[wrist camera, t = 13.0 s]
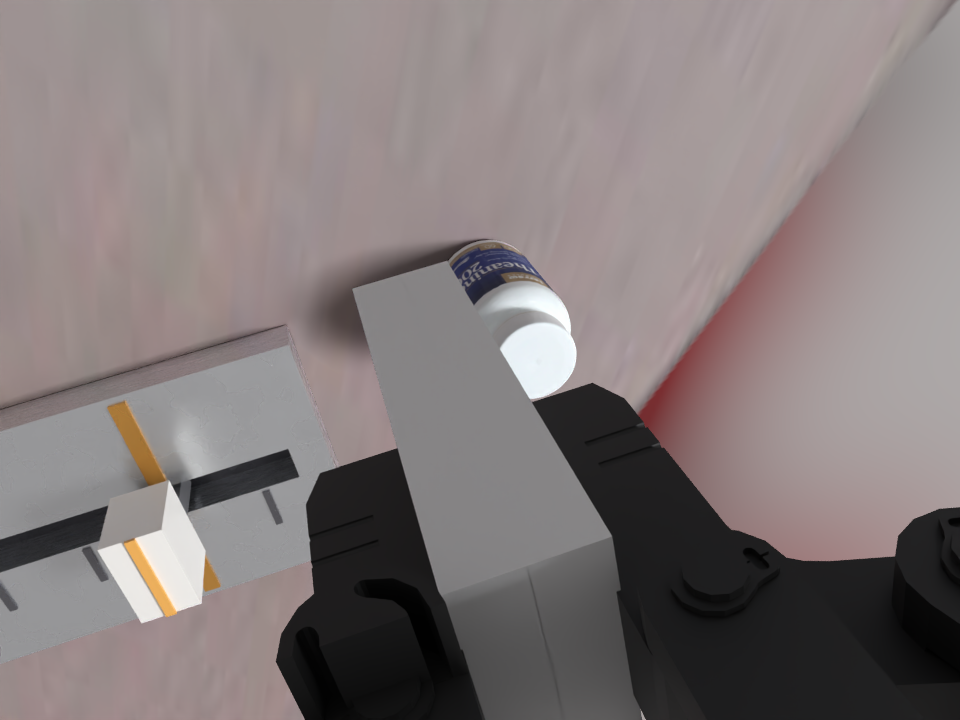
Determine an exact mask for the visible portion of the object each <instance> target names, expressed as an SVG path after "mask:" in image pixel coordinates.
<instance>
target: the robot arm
mask: <svg viewBox="0 0 960 720" xmlns="http://www.w3.org/2000/svg"><path fill="white" fill-rule="evenodd" d="M352 290H353V293H354V297H355V300H356V304H357V307H358V311H359V314H360V318H361V321H362V325H363V329H364V332H365V336H366V339H367V343H368V346H369V350H370V353H371V357H372V360H373V364H374V367H375V371H376V374H377V378H378V381H379V385H380V388H381V392H382V395H383V399H384V402H385V406H386V409H387V413H388V416H389V420H390V423H391V427H392V430H393V434H394V437H395V441H396V444H397V449H394V450H391V451H387V452H384V453H381V454H378V455H375V456H372V457H369V458H366V459H362V460H359V461H356V462H353V463H350V464H347V465H344V466H341V467H337V468H334V469H331V470H328V471H325V472H322V473H320V474H319V476H318V479H317V481H316V483H315V485H314V487H313V490H312V492H311V494H310V496H309V498H308V501H307V503H306V513H307V524H308V534H309V538H310V542H309V545H310V555H311V563H312V566H313V568H312V576H313V587H314V594H313V595H312V596H311V597H310V598H309V599H308V600H307V601H305V602H304V603H303V604H302V605H301V606H300V607H298V609H297V610H296V612H295V613H294V615H293V616H292V618H291V620H290V621H289V623H288V624H287V626H286V627H285V629H284V631H283V632H282V634H281V638H280V643H279V648H278V653H277V659H276V663H277V665H278V667H279V669H280V671H281V673H282V675H283V677H284V679H285V681H286V683H287V685H288V687H289V689H290V691H291V693H292V695H293V697H294V699H295V701H296V703H297V705H298V707H299V709H300V711H301V712H302V714H303V716H304V718H305V720H642V717H641V711H642V712H643V715H644V717H645V719H646V720H960V507H959V508H946V509H938V510H936V511H933V512H931V513H928V514H926V515H923V516H921V517H918V518H915V519H914V520H913V521H912V522H911V523H910V524H909V525H908V526H907V527H906V528H905V529H904V530H903V531H902V532H901V534H900V535H899V536H898V541H897V548H896V555H895V557H882V558H868V559H854V560H841V561H801V560H795V559H790V558H786V557H785V556H784V555H782V554H781V553H780V552H779V551H777V550H776V549H774V547H772V546H771V545H770V544H769V543H767V542H766V541H764V540H762V539H759V538H756V537H754V536H751V535H748V534H745V533H743V532H740V531H735V530H731V529H730V528H729V527H728V526H727V525H726V524H725V523H724V522H723V521H722V519H721V518H720V517H719V516H718V514H717V513H716V512H715V511H714V509H713V508H712V507H711V506H710V504H709V503H708V502H707V501H706V499H705V498H704V497H703V496H702V495H701V493H700V492H699V491H698V490H697V488H696V487H695V486H694V485H693V483H692V482H691V481H690V480H689V478H688V477H687V476H686V474H685V473H684V472H683V471H682V470H681V468H680V467H679V466H678V465H677V463H676V462H675V461H674V460H673V458H672V457H671V456H670V455H669V453H667V451H666V450H665V448H661V446H660V442H659V441H658V440H657V439H656V437H655V436H654V435H653V434H652V432H651V431H650V430H649V429H648V427H647V428H645V426H644V422H643V421H642V420H641V419H640V417H639V416H638V415H637V414H636V412H635V411H634V410H633V409H632V407H631V406H630V405H629V404H628V402H627V401H626V400H625V399H624V398H622V397H620V396H618V395H616V394H614V393H612V392H610V391H608V390H606V389H604V388H602V387H600V386H598V385H596V384H594V383H591V384H588V385H584V386H581V387H578V388H575V389H572V390H569V391H566V392H563V393H559V394H556V395H553V396H550V397H547V398H544V399H541V400H538V401H534V402H531V400H530V399H529V397H528V395H527V394H526V392H525V390H524V389H523V387H522V385H521V384H520V382H519V380H518V379H517V377H516V375H515V374H514V372H513V370H512V368H511V367H510V365H509V363H508V362H507V360H506V358H505V357H504V355H503V353H502V352H501V350H500V348H499V347H498V345H497V343H496V342H495V340H494V338H493V337H492V335H491V333H490V332H489V330H488V328H487V327H486V325H485V323H484V322H483V320H482V318H481V317H480V315H479V313H478V312H477V310H476V308H475V307H474V305H473V303H472V302H471V300H470V298H469V297H468V295H467V293H466V292H465V290H464V288H463V287H462V285H461V283H460V282H459V280H458V278H457V277H456V275H455V273H454V272H453V270H452V268H451V267H450V265H449V263H448V262H447V261H444V262H441V263H437V264H434V265H431V266H427V267H424V268H421V269H417V270H414V271H410V272H407V273H404V274H400V275H397V276H393V277H390V278H387V279H383V280H380V281H376V282H373V283H370V284H366V285H363V286H359V287H356V288H353V289H352ZM640 709H641V710H640Z"/></svg>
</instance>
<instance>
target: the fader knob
mask: <svg viewBox="0 0 960 720" xmlns="http://www.w3.org/2000/svg"><path fill="white" fill-rule="evenodd" d="M190 490H191V481H190V480H188V481H184V482H181V483H178V484H175V485H171V483H170V481H169V480H168V481H164V482H161V483H158V484H155V485H152V486H148V487H145V488H142V489H139V490H136V491H133V492H129V493H126V494H123V495H120V496H117V497H113V498H110V501H109V505H108V509H107V513H106V517H105V521H104V525H103V529H102V533H101V537H100V541H99V545H98V549H97V551H98V552H99V554H100V556H101V557H102V559H103V561H104V562H105V564H106V566H107V567H108V569H109V570H110V572H111V574H112V575H113V577H114V579H115V580H116V582H117V584H118V585H119V587H120V589H121V590H122V592H123V593H124V595H125V597H126V598H127V600H128V602H129V603H130V605H131V607H132V608H133V610H134V611H135V613H136V615H137V616H138V618H139V620H140V621H141V623H144V622H147V621H150V620H153V619H156V618H159V617H162V616H165V615H166V617H168V616H171V615H174V614H177V611H180V610H183V609H186V608H189V607H192V606H195V605H198V604H201V603H202V591H203V578H204V564H205V549H204V547H203V545H202V543H201V541H200V539H199V537H198V535H197V533H196V531H195V529H194V528H193V526H192V524H191V522H190V520H189V518H188V508H189V499H190Z"/></svg>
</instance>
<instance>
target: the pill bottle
mask: <svg viewBox="0 0 960 720" xmlns="http://www.w3.org/2000/svg"><path fill="white" fill-rule="evenodd" d="M448 263H449V265H450V267H451V268H452V270H453V272H454V273H455V275H456V277H457V278H458V280H459V282H460V283H461V285H462V287H463V288H464V290H465V292H466V293H467V295H468V297H469V298H470V300H471V302H472V303H473V305H474V307H475V308H476V310H477V312H478V313H479V315H480V317H481V318H482V320H483V322H484V323H485V325H486V327H487V328H488V330H489V332H490V333H491V335H492V337H493V338H494V340H495V342H496V343H497V345H498V347H499V348H500V350H501V352H502V353H503V355H504V357H505V358H506V360H507V362H508V363H509V365H510V367H511V368H512V370H513V372H514V374H515V375H516V377H517V379H518V380H519V382H520V384H521V385H522V387H523V389H524V390H525V392H526V394H527V395H528V397H529V399H535V398H540V397H544V396H546V395H548V394H550V393H552V392H554V391H556V390H557V389H558V388H560V387H561V386H562V385H563V384H564V383H565V382H566V381H567V379H568V378H569V376H570V375H571V373H572V371H573V369H574V366H575V362H576V347H575V344H574V341H573V339H572V337H571V336H570V332H571V327H570V319H569V315H568V312H567V310H566V308H565V306H564V304H563V303H562V301H561V299H560V298H559V297H558V296H557V295H556V293H555V292H554V291H553V290H552V289H551V288H550V287H549V285H548V284H547V283H546V282H545V280H544V279H543V278H542V277H541V276H540V275H539V273H538V272H537V271H536V270H535V269H534V267H533V266H532V265H531V264H530V262H529V261H528V260H527V259H526V258H525V256H524V255H522V253H521V252H520V251H518V250H517V249H516V248H515V247H513V246H511V245H509V244H507V243H505V242H501V241H496V240H484V241H477V242H474V243H471V244H469V245H467V246H465V247H463V248H462V249H460V250H459V251H458V252H456V253H455V254H454V255H453V256H452V257H451V258H450V259H449V261H448Z"/></svg>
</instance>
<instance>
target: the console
mask: <svg viewBox="0 0 960 720" xmlns="http://www.w3.org/2000/svg"><path fill="white" fill-rule="evenodd" d="M337 467H340V466H339V463H338V460H337V458H336V455H335V452H334V450H333V447H332V444H331V442H330V439H329V436H328V434H327V431H326V428H325V426H324V423H323V420H322V418H321V415H320V412H319V410H318V407H317V404H316V401H315V399H314V396H313V393H312V391H311V388H310V385H309V383H308V380H307V377H306V375H305V372H304V369H303V367H302V364H301V361H300V359H299V356H298V353H297V351H296V348H295V345H294V342H293V340H292V337H291V334H290V332H289V329H288V326H287V325H284V326H280V327H277V328H274V329H270V330H267V331H264V332H260V333H257V334H253V335H250V336H247V337H243V338H240V339H237V340H233V341H230V342H227V343H223V344H220V345H216V346H213V347H210V348H206V349H203V350H200V351H196V352H193V353H190V354H186V355H183V356H179V357H176V358H173V359H169V360H166V361H163V362H159V363H156V364H153V365H149V366H146V367H142V368H139V369H136V370H132V371H129V372H126V373H122V374H119V375H116V376H112V377H109V378H105V379H102V380H99V381H95V382H92V383H89V384H85V385H82V386H79V387H75V388H72V389H68V390H65V391H62V392H58V393H55V394H52V395H48V396H45V397H42V398H38V399H35V400H31V401H28V402H25V403H21V404H18V405H15V406H11V407H8V408H5V409H1V410H0V664H2V663H5V662H8V661H11V660H14V659H17V658H20V657H23V656H26V655H29V654H32V653H35V652H38V651H41V650H44V649H47V648H50V647H53V646H56V645H59V644H62V643H65V642H68V641H71V640H74V639H77V638H80V637H83V636H86V635H89V634H92V633H95V632H98V631H101V630H104V629H107V628H110V627H113V626H116V625H119V624H122V623H125V622H128V621H131V620H134V619H137V618H138V616H137V615H136V613H135V611H134V610H133V608H132V607H131V605H130V603H129V602H128V600H127V598H126V597H125V595H124V593H123V592H122V590H121V589H120V587H119V585H118V584H117V582H116V580H115V579H114V577H113V575H112V574H111V572H110V570H109V569H108V567H107V566H106V564H105V562H104V561H103V559H102V557H101V556H100V554H99V552H98V551H97V549H98V545H99V541H100V537H101V533H102V529H103V525H104V521H105V517H106V513H107V509H108V505H109V501H110V498H113V497H117V496H120V495H123V494H126V493H129V492H133V491H136V490H139V489H142V488H145V487H148V486H152V485H155V484H158V483H161V482H164V481H168V480H169V481H170V483H171V485H175V484H178V483H181V482H184V481H188V480H190V481H191V490H190V499H189V508H188V518H189V520H190V522H191V524H192V526H193V528H194V529H195V531H196V533H197V535H198V537H199V539H200V541H201V543H202V545H203V547H204V549H205V564H204V578H203V591H202V597H203V596H206V595H209V594H212V593H215V592H218V591H221V590H224V589H227V588H230V587H233V586H236V585H239V584H242V583H245V582H248V581H251V580H254V579H257V578H260V577H263V576H266V575H269V574H272V573H275V572H278V571H281V570H284V569H287V568H290V567H293V566H296V565H299V564H302V563H305V562H308V561H311V555H310V545H309V542H310V538H309V534H308V524H307V513H306V503H307V501H308V498H309V496H310V494H311V492H312V490H313V487H314V485H315V483H316V481H317V479H318V476H319V474H320V473H322V472H325V471H328V470H331V469H334V468H337Z"/></svg>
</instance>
